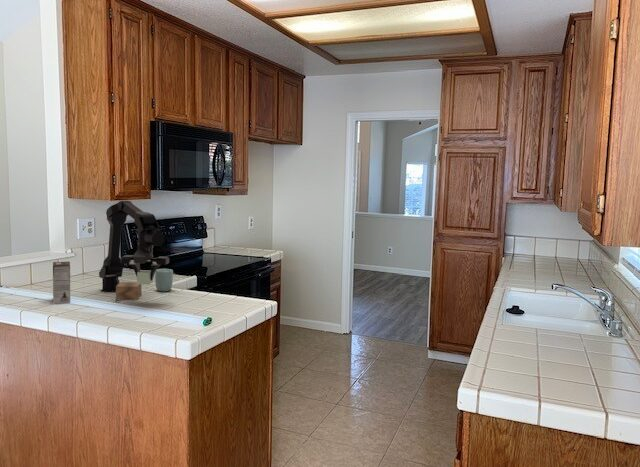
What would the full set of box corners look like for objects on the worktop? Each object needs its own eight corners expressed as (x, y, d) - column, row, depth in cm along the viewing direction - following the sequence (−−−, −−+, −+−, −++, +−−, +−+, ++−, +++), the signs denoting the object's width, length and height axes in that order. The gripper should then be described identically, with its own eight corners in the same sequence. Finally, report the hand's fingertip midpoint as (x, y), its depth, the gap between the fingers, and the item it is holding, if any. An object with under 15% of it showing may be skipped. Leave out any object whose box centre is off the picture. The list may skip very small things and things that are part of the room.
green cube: (137, 284, 204) (137, 272, 204) (141, 281, 209) (141, 270, 209) (149, 284, 204) (149, 272, 204) (152, 282, 209) (153, 270, 209)
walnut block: (115, 299, 211) (115, 286, 211) (120, 295, 220) (120, 282, 219) (137, 300, 213) (137, 286, 212) (141, 295, 222) (141, 282, 221)
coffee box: (52, 299, 207) (52, 261, 206) (69, 297, 210) (69, 261, 209) (53, 304, 199) (52, 265, 198) (70, 302, 202) (70, 264, 201)
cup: (167, 293, 227) (167, 272, 226) (152, 291, 228) (152, 270, 227) (175, 290, 235) (175, 269, 234) (160, 288, 236) (161, 268, 235)
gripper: (115, 245, 197) (115, 283, 198) (161, 246, 197) (161, 284, 199) (125, 241, 208) (125, 277, 209) (169, 243, 208) (169, 279, 210)
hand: (145, 280), depth 207 cm, fingers closed on green cube, 5 cm apart
